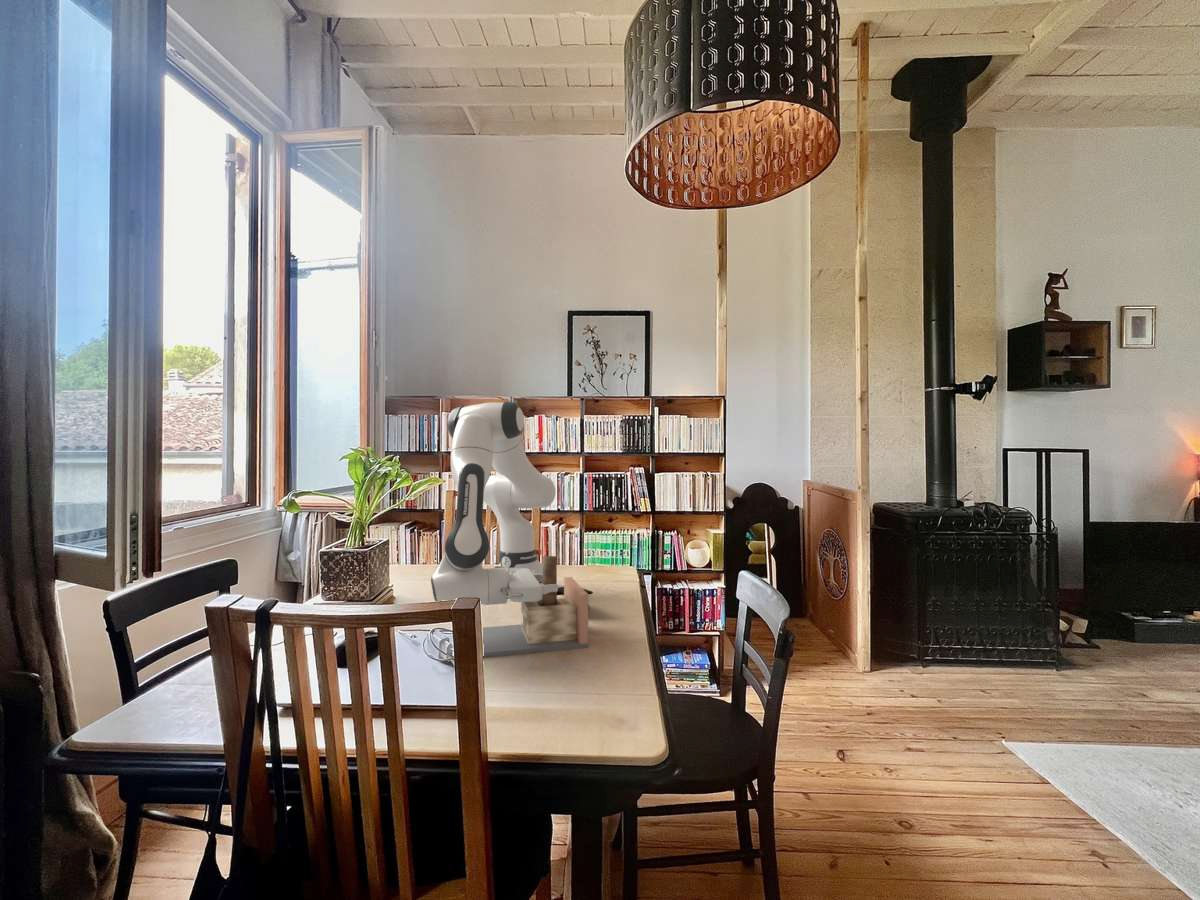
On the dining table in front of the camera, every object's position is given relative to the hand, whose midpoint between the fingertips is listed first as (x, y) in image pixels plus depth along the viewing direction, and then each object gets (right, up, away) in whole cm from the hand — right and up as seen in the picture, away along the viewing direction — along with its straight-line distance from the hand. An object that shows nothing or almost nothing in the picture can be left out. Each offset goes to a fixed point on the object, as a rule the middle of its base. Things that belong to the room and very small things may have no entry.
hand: (553, 582), depth 145 cm
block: (-1, -13, 0) cm, 13 cm away
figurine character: (+3, -14, +22) cm, 27 cm away
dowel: (-1, -11, 0) cm, 12 cm away
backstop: (-7, -14, -2) cm, 16 cm away
